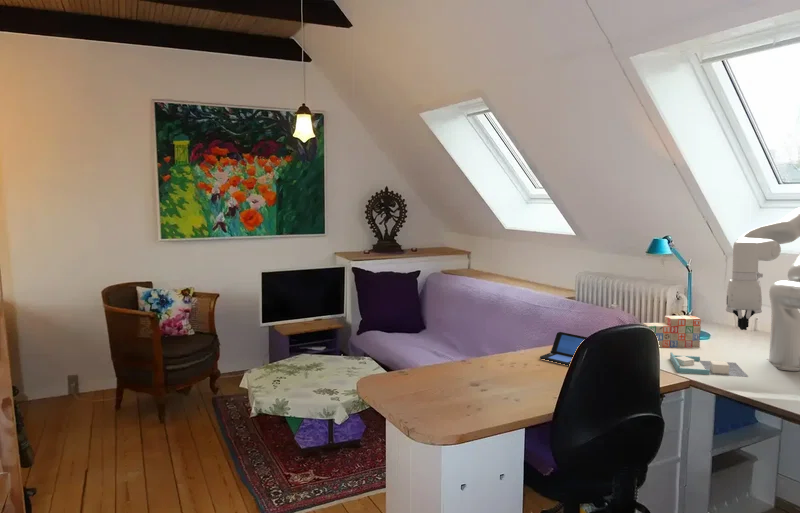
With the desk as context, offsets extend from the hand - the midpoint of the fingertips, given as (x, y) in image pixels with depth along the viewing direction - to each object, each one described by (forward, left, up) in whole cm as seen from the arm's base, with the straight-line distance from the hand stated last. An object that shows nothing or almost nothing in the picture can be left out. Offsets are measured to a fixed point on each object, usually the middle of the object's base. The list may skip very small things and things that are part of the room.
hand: (742, 329), depth 202 cm
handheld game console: (+59, -7, -17) cm, 62 cm away
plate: (+5, -3, -17) cm, 18 cm away
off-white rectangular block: (+7, +1, -15) cm, 17 cm away
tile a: (+17, -7, -17) cm, 25 cm away
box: (+16, -3, -17) cm, 23 cm away
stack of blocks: (+17, -38, -17) cm, 45 cm away
